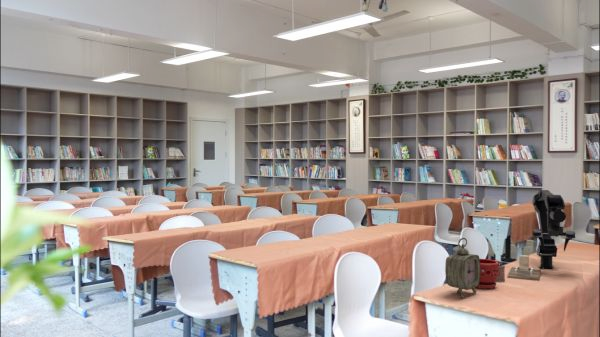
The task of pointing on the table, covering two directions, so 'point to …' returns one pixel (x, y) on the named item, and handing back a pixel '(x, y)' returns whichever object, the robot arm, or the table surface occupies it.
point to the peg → (524, 262)
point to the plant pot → (488, 273)
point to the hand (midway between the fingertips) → (553, 250)
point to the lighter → (500, 272)
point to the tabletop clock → (463, 270)
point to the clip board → (524, 274)
